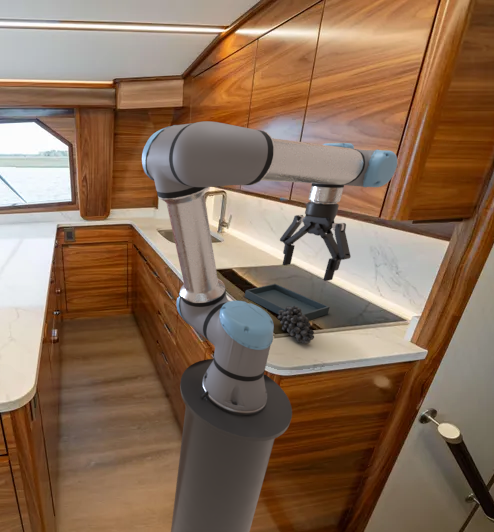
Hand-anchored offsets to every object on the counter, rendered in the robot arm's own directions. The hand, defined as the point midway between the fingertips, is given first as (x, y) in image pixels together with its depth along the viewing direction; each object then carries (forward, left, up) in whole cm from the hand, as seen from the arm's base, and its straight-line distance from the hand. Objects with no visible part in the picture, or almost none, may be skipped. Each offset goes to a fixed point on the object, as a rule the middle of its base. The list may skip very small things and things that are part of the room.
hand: (305, 271), depth 91 cm
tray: (+15, +14, -22) cm, 30 cm away
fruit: (-1, -2, -22) cm, 22 cm away
